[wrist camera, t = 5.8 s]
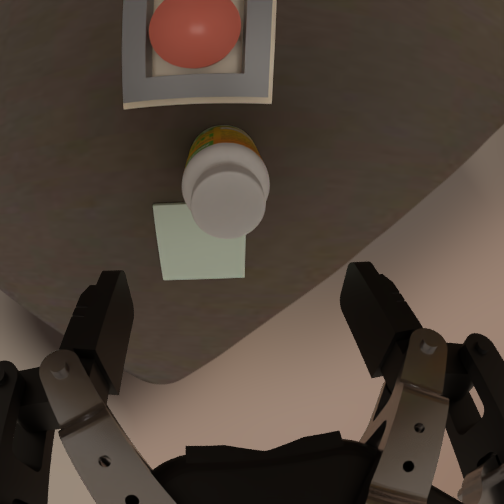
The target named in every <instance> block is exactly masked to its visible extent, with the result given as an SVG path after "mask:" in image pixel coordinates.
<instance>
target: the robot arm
mask: <svg viewBox="0 0 504 504" xmlns="http://www.w3.org/2000/svg"><path fill="white" fill-rule="evenodd" d="M340 305H341V310H342V312H343V314H344V317H345V319H346V321H347V323H348V325H349V328H350V330H351V332H352V334H353V336H354V339H355V341H356V343H357V345H358V348H359V350H360V352H361V355H362V357H363V359H364V361H365V364H366V366H367V368H368V371H369V373H370V375H371V378H375V377H380V376H383V377H384V379H385V382H384V383H383V386H382V388H381V391H380V394H379V397H378V400H377V403H376V406H375V409H374V411H373V414H372V417H371V419H370V422H369V425H368V427H367V429H366V431H365V432H364V434H363V436H362V437H361V439H360V441H359V442H357V441H353V440H346V439H342V438H341V434H340V431H335V432H330V433H325V434H319V435H313V436H307V437H303V438H300V439H298V440H295V441H293V442H290V443H288V444H285V445H282V446H280V447H277V448H274V449H271V450H268V451H259V450H252V449H245V448H238V447H232V446H226V445H218V446H186V455H183V456H179V457H176V458H174V459H170V460H169V461H166V462H164V463H162V464H161V465H159V466H158V467H156V468H155V469H154V470H153V469H152V468H151V467H150V466H149V464H148V463H147V462H146V461H145V459H144V458H143V457H142V455H141V454H140V453H139V451H138V450H137V449H136V447H135V446H134V445H133V443H132V442H131V441H130V439H129V438H128V436H127V435H126V433H125V432H124V430H123V429H122V427H121V426H120V424H119V423H118V421H117V420H116V418H115V417H114V415H113V414H112V412H111V410H110V409H109V407H108V406H107V399H108V394H112V395H119V392H120V386H121V380H122V374H123V369H124V363H125V358H126V353H127V348H128V343H129V338H130V333H131V329H132V324H133V319H134V308H133V302H132V298H131V295H130V291H129V287H128V283H127V279H126V275H125V272H124V271H123V270H116V271H102V273H101V275H100V277H99V280H98V282H97V284H96V285H90V286H89V287H88V288H87V289H86V290H85V291H84V292H83V293H82V294H81V296H80V298H79V300H78V303H77V305H76V308H75V310H74V312H73V317H71V319H70V322H69V324H68V327H67V330H66V332H65V335H64V338H63V340H62V343H61V346H60V348H59V350H56V351H54V352H52V353H50V354H49V355H47V356H46V357H45V358H44V360H43V361H42V363H41V365H40V367H37V368H32V369H27V370H22V371H18V370H17V368H16V367H15V365H14V364H13V363H11V362H9V361H0V504H47V502H48V485H49V473H50V463H51V454H52V446H53V439H54V432H55V429H61V430H60V431H59V432H58V433H59V437H60V439H61V441H62V444H63V445H64V448H65V449H66V452H67V454H68V456H69V457H70V459H71V461H72V463H73V465H74V467H75V469H76V470H77V472H78V474H79V476H80V477H81V479H82V481H83V483H84V484H85V486H86V487H87V489H88V491H89V492H90V494H91V496H92V497H93V499H94V500H95V502H96V504H504V361H503V359H502V358H501V356H500V354H499V352H498V351H497V350H496V348H495V346H494V344H493V343H492V342H491V341H490V340H489V339H488V338H487V337H485V336H483V335H481V334H478V333H474V334H470V335H469V336H468V337H467V339H466V340H465V342H464V343H463V344H456V343H446V341H445V340H444V338H443V337H442V336H441V335H440V334H439V333H437V332H435V331H434V330H431V329H427V328H423V327H422V325H421V324H420V322H419V321H418V319H417V318H416V316H415V315H414V313H413V311H412V310H411V308H410V307H409V306H408V304H407V302H406V301H404V298H403V297H402V295H401V294H399V291H398V289H397V288H396V286H395V285H394V283H393V282H392V281H391V280H389V279H388V278H387V277H385V276H384V275H383V274H379V273H378V272H377V270H376V269H375V268H374V266H373V264H372V263H371V262H351V263H350V264H349V265H348V268H347V272H346V276H345V280H344V283H343V287H342V291H341V295H340ZM473 386H474V387H475V389H476V391H477V393H478V395H479V397H480V399H481V401H482V403H483V405H484V415H483V417H482V418H481V417H480V414H479V412H478V410H477V407H476V405H475V403H474V401H473V399H472V397H471V395H470V393H469V391H470V390H471V389H472V387H473ZM445 428H446V430H447V433H448V436H449V438H450V441H451V444H452V446H453V449H454V452H455V455H456V457H457V460H458V463H459V466H460V469H461V472H462V474H463V478H464V480H463V483H462V488H461V489H460V490H459V491H458V499H459V500H460V501H462V502H460V501H458V500H456V499H455V498H453V497H451V496H450V495H448V494H446V493H444V492H443V491H441V490H439V489H438V488H436V487H434V486H433V485H432V481H433V477H434V474H435V470H436V467H437V462H438V459H439V454H440V449H441V446H442V441H443V436H444V431H445Z"/></svg>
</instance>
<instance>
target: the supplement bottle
mask: <svg viewBox="0 0 504 504" xmlns="http://www.w3.org/2000/svg"><path fill="white" fill-rule="evenodd" d="M269 188H270V181H269V175H268V171H267V169H266V166H265V164H264V162H263V160H262V158H261V156H260V154H259V152H258V150H257V148H256V146H255V144H254V142H253V141H252V139H251V138H250V137H249V135H248V134H247V133H245V132H244V131H243V130H241V129H239V128H237V127H234V126H230V125H217V126H213V127H210V128H208V129H206V130H204V131H203V132H202V133H200V134H199V135H198V136H197V138H196V139H195V140H194V142H193V144H192V146H191V148H190V151H189V155H188V158H187V162H186V166H185V170H184V173H183V178H182V194H183V198H184V200H185V203H186V205H187V206H188V208H189V210H190V211H191V213H192V216H193V219H194V221H195V222H196V224H197V225H198V226H199V228H200V229H202V230H203V231H204V232H205V233H207V234H209V235H211V236H213V237H217V238H221V239H233V238H238V237H241V236H244V235H246V234H248V233H249V232H251V231H252V230H253V229H255V228H256V227H257V225H258V224H259V223H260V221H261V220H262V218H263V216H264V213H265V208H266V200H267V197H268V194H269Z"/></svg>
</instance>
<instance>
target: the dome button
mask: <svg viewBox="0 0 504 504" xmlns="http://www.w3.org/2000/svg"><path fill="white" fill-rule="evenodd" d="M240 32H241V19H240V15H239V12H238V10H237V8H236V6H235V5H234V4H233V2H232V1H231V0H164V1H163V2H162V3H161V4H160V5H159V6H158V7H157V9H156V10H155V12H154V14H153V16H152V18H151V21H150V25H149V38H150V42H151V44H152V47H153V48H154V50H155V52H156V53H157V54H158V55H159V56H160V57H161V58H162V59H163V60H165V61H166V62H168V63H170V64H172V65H175V66H178V67H182V68H191V69H197V68H204V67H208V66H211V65H213V64H216V63H217V62H219V61H221V60H222V59H223V58H225V57H226V56H227V55H228V54H229V52H230V51H231V50H232V49H233V47H234V46H235V44H236V43H237V41H238V38H239V35H240Z"/></svg>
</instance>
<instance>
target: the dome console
mask: <svg viewBox="0 0 504 504" xmlns="http://www.w3.org/2000/svg"><path fill="white" fill-rule="evenodd" d="M163 1H164V0H124V1H123V22H122V85H123V107H124V109H133V108H142V107H153V106H165V105H181V104H204V103H258V104H272V88H273V68H274V48H275V26H276V4H277V0H231V1H232V2H233V4H234V5H235V6H236V8H237V10H238V12H239V15H240V19H241V32H240V35H239V38H238V41H237V43H236V44H235V46H234V47H233V49H232V50H231V51H230V52H229V54H228V55H227V56H226V57H225V58H223V59H222V60H221V61H219V62H217V63H216V64H213V65H211V66H208V67H204V68H197V69H191V68H182V67H178V66H175V65H172V64H170V63H168V62H166V61H165V60H163V59H162V58H161V57H160V56H159V55H158V54H157V53H156V52H155V50H154V48H153V47H152V44H151V42H150V38H149V25H150V21H151V18H152V16H153V14H154V12H155V10H156V9H157V7H158V6H159V5H160V4H161V3H162V2H163Z"/></svg>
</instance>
